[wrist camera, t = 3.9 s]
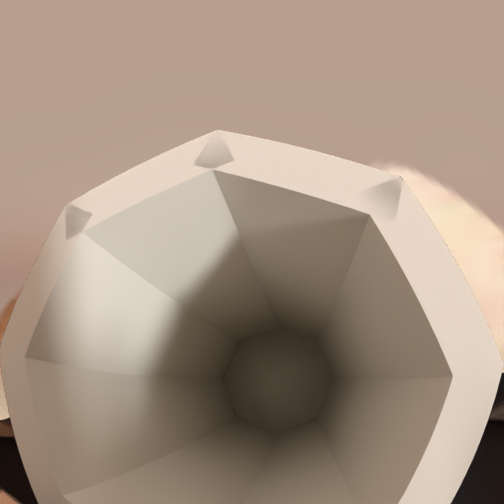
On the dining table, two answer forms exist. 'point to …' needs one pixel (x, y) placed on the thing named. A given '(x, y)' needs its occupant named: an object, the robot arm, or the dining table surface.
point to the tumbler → (247, 338)
